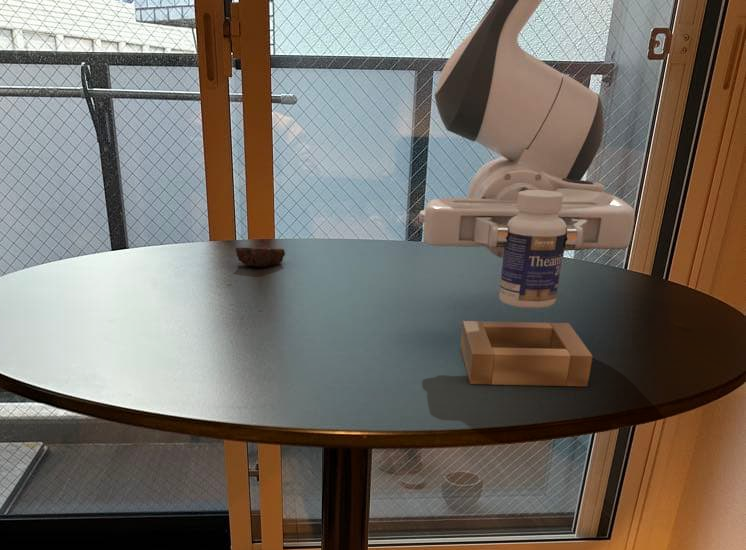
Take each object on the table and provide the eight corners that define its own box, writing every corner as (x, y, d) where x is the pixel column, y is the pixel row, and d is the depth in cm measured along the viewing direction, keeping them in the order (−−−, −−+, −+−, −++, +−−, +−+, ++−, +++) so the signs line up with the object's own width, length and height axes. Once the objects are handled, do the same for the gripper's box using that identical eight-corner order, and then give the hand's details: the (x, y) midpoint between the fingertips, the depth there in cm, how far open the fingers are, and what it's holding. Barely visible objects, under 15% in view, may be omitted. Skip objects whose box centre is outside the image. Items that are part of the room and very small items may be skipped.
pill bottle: (526, 312, 74) (541, 198, 69) (486, 299, 78) (498, 191, 73) (567, 304, 76) (584, 194, 71) (527, 292, 80) (540, 187, 75)
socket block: (564, 351, 85) (569, 322, 83) (587, 386, 75) (592, 355, 74) (460, 348, 85) (462, 320, 84) (469, 384, 76) (472, 353, 74)
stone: (228, 267, 118) (227, 245, 117) (251, 258, 124) (251, 237, 123) (268, 271, 116) (267, 249, 115) (290, 262, 122) (290, 240, 120)
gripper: (419, 180, 84) (425, 199, 72) (617, 182, 83) (656, 203, 71) (416, 243, 87) (421, 272, 75) (606, 246, 86) (641, 276, 74)
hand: (537, 238), depth 73 cm, fingers closed on pill bottle, 5 cm apart
